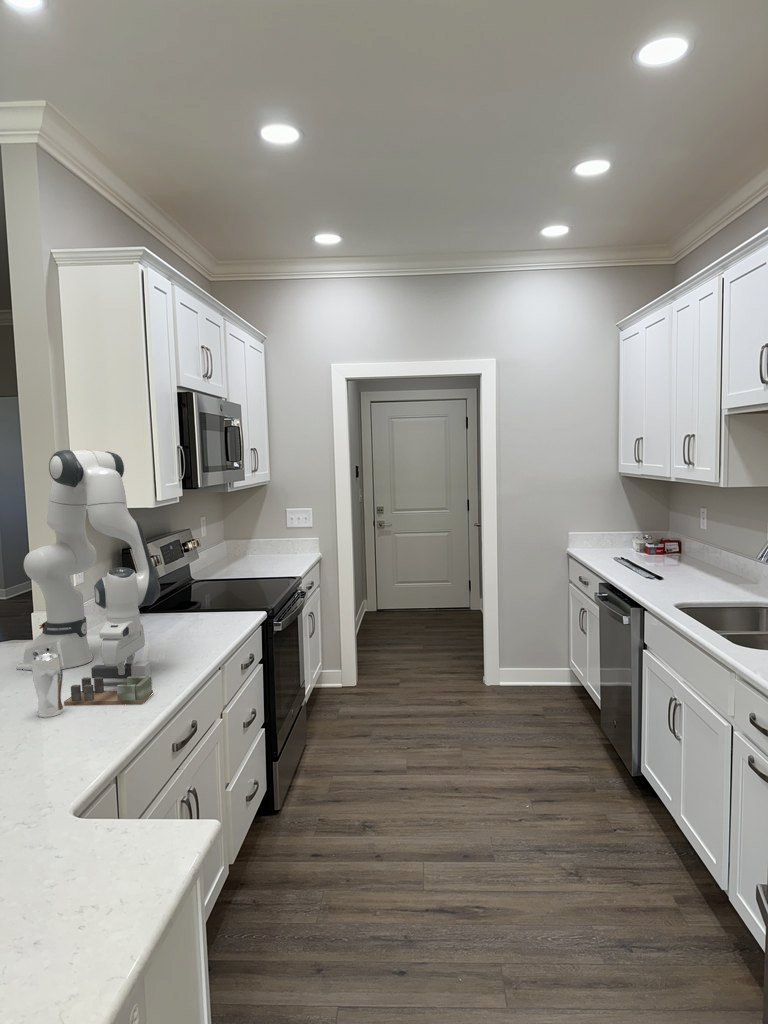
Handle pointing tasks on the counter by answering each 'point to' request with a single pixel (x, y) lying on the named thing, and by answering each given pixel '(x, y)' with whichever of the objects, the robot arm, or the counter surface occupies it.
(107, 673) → the dark grey square bar
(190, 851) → the counter surface
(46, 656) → the beer glass
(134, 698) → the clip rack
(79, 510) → the robot arm
